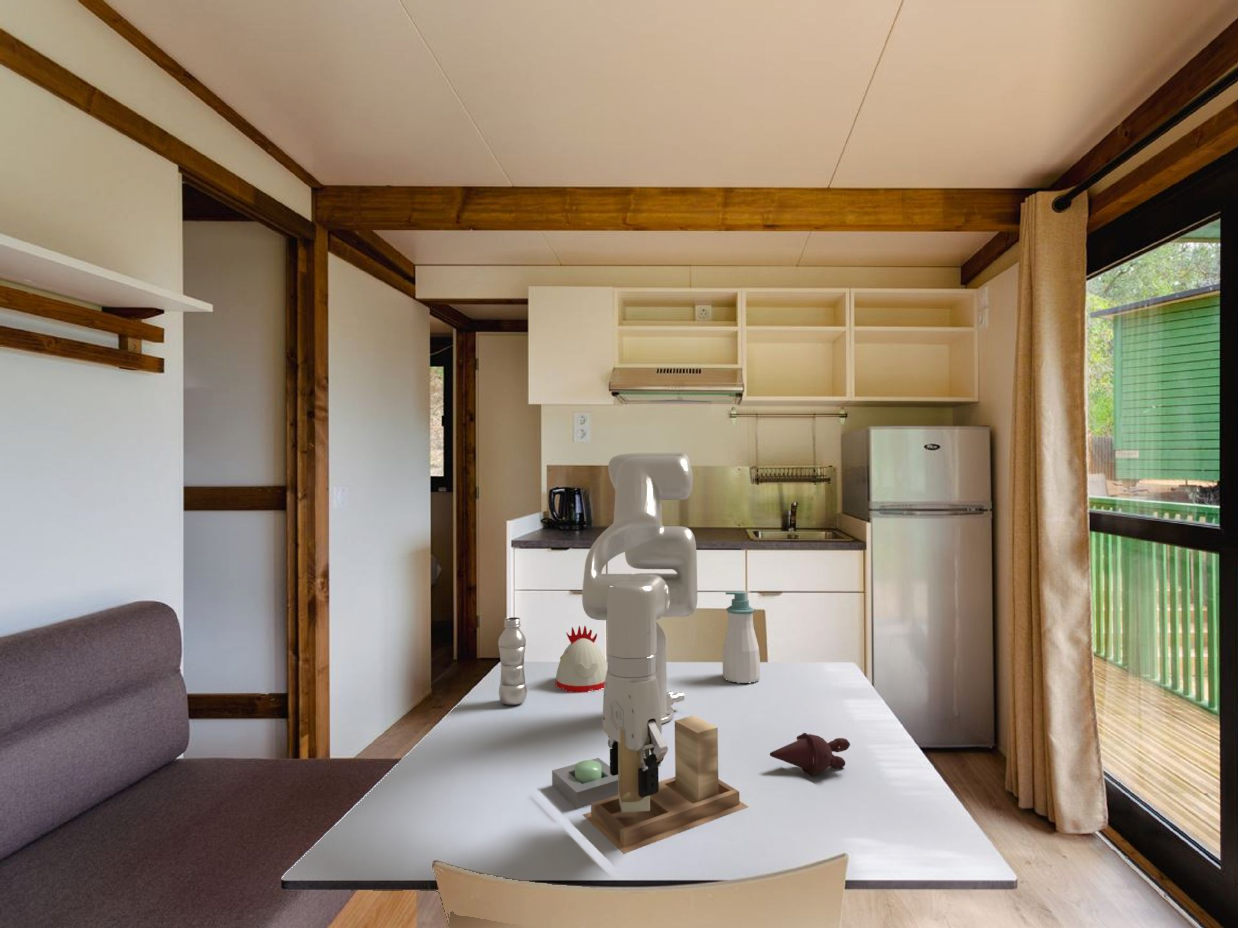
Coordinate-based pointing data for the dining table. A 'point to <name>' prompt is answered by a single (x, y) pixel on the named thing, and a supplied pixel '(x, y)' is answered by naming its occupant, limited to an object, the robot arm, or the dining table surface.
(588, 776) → the button
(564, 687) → the cream and red dome
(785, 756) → the icecream
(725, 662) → the soap bottle
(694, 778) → the block
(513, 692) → the plastic bottle
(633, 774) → the skincare box
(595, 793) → the grey square holder
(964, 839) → the dining table surface
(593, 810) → the open wooden box
